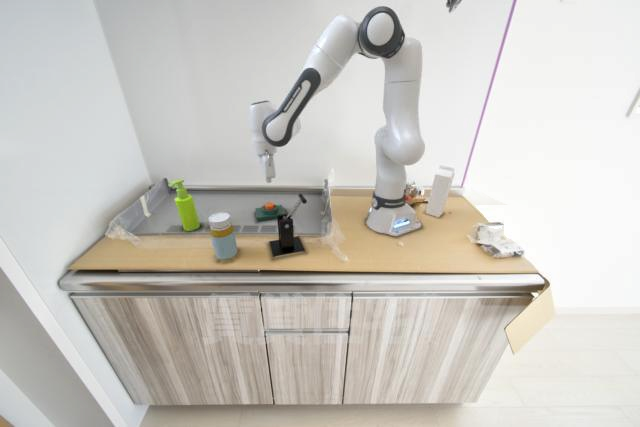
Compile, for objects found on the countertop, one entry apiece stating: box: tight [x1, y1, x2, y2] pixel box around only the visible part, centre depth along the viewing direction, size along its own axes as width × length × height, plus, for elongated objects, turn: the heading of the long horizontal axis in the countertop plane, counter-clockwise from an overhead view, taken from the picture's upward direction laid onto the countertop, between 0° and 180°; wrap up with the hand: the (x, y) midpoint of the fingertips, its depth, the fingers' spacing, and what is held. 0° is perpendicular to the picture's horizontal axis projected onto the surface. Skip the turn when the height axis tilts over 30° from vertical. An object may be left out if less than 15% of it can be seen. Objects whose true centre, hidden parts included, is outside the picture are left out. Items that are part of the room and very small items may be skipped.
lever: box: [281, 192, 308, 220], centre depth 79 cm, size 12×5×2 cm
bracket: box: [268, 212, 306, 257], centre depth 83 cm, size 11×9×13 cm
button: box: [264, 202, 275, 210], centre depth 104 cm, size 4×4×2 cm
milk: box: [425, 165, 455, 218], centre depth 105 cm, size 6×6×22 cm
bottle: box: [208, 212, 239, 261], centre depth 78 cm, size 7×7×15 cm
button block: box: [254, 203, 286, 223], centre depth 106 cm, size 12×9×4 cm
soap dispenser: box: [167, 179, 201, 232], centre depth 92 cm, size 6×7×20 cm
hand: (268, 181), depth 99 cm, fingers closed
